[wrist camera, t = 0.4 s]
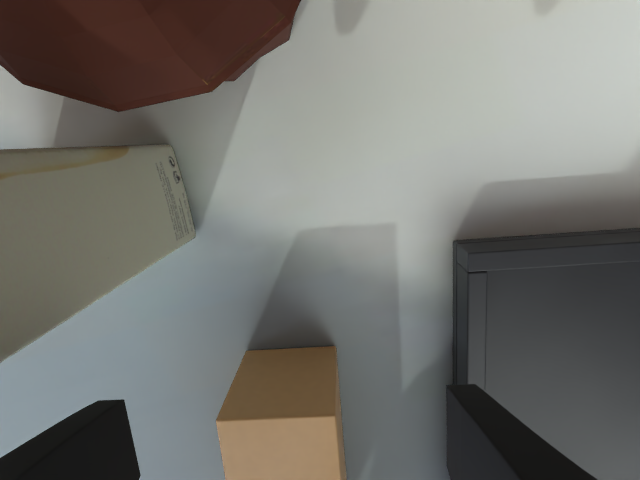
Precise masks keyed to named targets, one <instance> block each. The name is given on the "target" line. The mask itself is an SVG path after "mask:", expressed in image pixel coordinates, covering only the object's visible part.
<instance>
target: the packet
mask: <svg viewBox="0 0 640 480" xmlns="http://www.w3.org/2000/svg"><path fill="white" fill-rule="evenodd" d="M216 424H217V430H218V436H219V442H220V449H221V455H222V461H223V467H224V473H225V479H226V480H347V478H346V465H345V453H344V440H343V427H342V414H341V402H340V389H339V376H338V363H337V350H336V346H326V347H307V348H288V349H269V350H251V351H246V352H245V355H244V357H243V359H242V362H241V364H240V366H239V368H238V371H237V373H236V375H235V378H234V380H233V382H232V384H231V387H230V389H229V391H228V394H227V396H226V398H225V400H224V403H223V405H222V407H221V410H220V412H219V414H218V417H217V419H216Z"/></svg>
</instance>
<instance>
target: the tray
mask: <svg viewBox="0 0 640 480" xmlns="http://www.w3.org/2000/svg"><path fill="white" fill-rule="evenodd" d="M463 384H476V385H477V386H479V387H480V388H481V389H482V390H484V391H485V392H486V393H487V394H488V395H490V396H491V397H492V398H493V399H495V400H496V401H497V402H498V403H499V404H501V405H502V406H503V407H504V408H505V409H507V410H508V411H509V412H510V413H511V414H513V415H514V416H515V417H516V418H518V419H519V420H520V421H521V422H522V423H524V424H525V425H526V426H527V427H529V428H530V429H531V430H532V431H534V432H535V433H536V434H537V435H539V436H540V437H541V438H543V439H544V440H545V441H546V442H548V443H549V444H550V445H551V446H553V447H554V448H555V449H557V450H558V451H559V452H561V453H562V454H563V455H565V456H566V457H567V458H569V459H570V460H571V461H573V462H574V463H575V464H577V465H578V466H579V467H581V468H582V469H583V470H585V471H586V472H588V473H589V474H590V475H592V476H593V477H595V478H596V479H598V480H640V228H634V229H619V230H605V231H590V232H575V233H560V234H545V235H530V236H516V237H501V238H486V239H471V240H456V241H453V385H463Z"/></svg>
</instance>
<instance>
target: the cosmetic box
mask: <svg viewBox="0 0 640 480" xmlns="http://www.w3.org/2000/svg"><path fill="white" fill-rule="evenodd" d="M195 236H196V232H195V228H194V224H193V220H192V216H191V212H190V208H189V204H188V199H187V196H186V192H185V188H184V185H183V181H182V177H181V174H180V171H179V167H178V164H177V161H176V158H175V154H174V151H173V149H172V147H171V146H170V145H168V144H166V145H134V146H101V147H66V148H33V149H3V150H0V363H1V362H2V361H4V360H6V359H7V358H9V357H10V356H12V355H13V354H15V353H17V352H18V351H20V350H21V349H23V348H25V347H26V346H28V345H29V344H31V343H32V342H34V341H35V340H37V339H38V338H40V337H41V336H43V335H45V334H46V333H48V332H49V331H51V330H52V329H54V328H55V327H57V326H59V325H60V324H62V323H63V322H65V321H66V320H68V319H69V318H71V317H73V316H74V315H76V314H77V313H79V312H80V311H82V310H83V309H85V308H86V307H88V306H89V305H91V304H93V303H94V302H96V301H97V300H99V299H100V298H102V297H103V296H105V295H106V294H108V293H109V292H111V291H113V290H114V289H116V288H117V287H119V286H120V285H122V284H123V283H125V282H127V281H128V280H130V279H131V278H133V277H134V276H136V275H137V274H139V273H140V272H142V271H144V270H145V269H147V268H148V267H150V266H151V265H153V264H154V263H156V262H157V261H159V260H161V259H162V258H164V257H165V256H167V255H169V254H170V253H172V252H173V251H175V250H176V249H178V248H179V247H181V246H182V245H184V244H186V243H187V242H189V241H190V240H192V239H194V238H195Z"/></svg>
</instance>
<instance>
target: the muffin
mask: <svg viewBox="0 0 640 480" xmlns="http://www.w3.org/2000/svg"><path fill="white" fill-rule="evenodd" d="M300 1H301V0H0V65H1V66H2V67H3V68H5V69H6V70H7V71H8V72H9V73H11V74H12V75H13V76H14V77H15V78H16V79H18V80H19V81H20V82H21V83H22V84H24V85H28V86H31V87H35V88H38V89H41V90H45V91H48V92H52V93H55V94H59V95H62V96H66V97H69V98H73V99H76V100H79V101H83V102H86V103H90V104H93V105H97V106H100V107H104V108H107V109H110V110H114V111H117V112H120V111H125V110H130V109H134V108H139V107H144V106H148V105H153V104H157V103H162V102H167V101H171V100H176V99H180V98H185V97H190V96H194V95H199V94H203V93H208V92H212V91H213V90H214V89H216V88H217V87H218V86H219V85H220V84H221V83H222V82H224V81H235V80H236V79H237V78H238V77H239V76H240V75H241V74H242V73H243V72H245V71H246V70H247V69H248V68H249V67H250V66H251V65H252V64H253V63H254V62H255V61H257V60H258V59H259V58H260V57H262V56H263V55H265V54H267V53H268V52H270V51H272V50H273V49H275V48H277V47H278V46H280V45H282V44H283V43H285V42H287V41H288V40H289V38H290V34H291V29H292V25H293V20H294V16H295V12H296V10H297V8H298V6H299V3H300Z"/></svg>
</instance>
